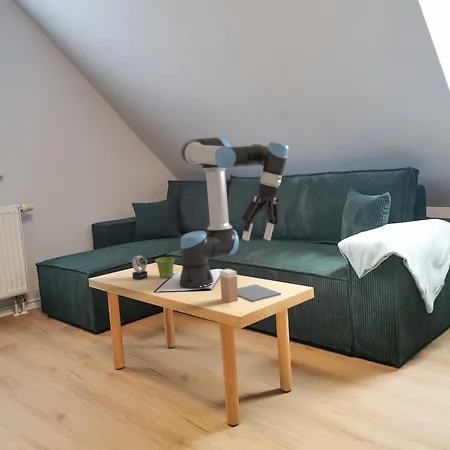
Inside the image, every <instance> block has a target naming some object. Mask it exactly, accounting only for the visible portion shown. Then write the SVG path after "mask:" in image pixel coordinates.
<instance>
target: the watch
mask: <svg viewBox="0 0 450 450" xmlns="http://www.w3.org/2000/svg"><path fill="white" fill-rule="evenodd" d="M147 264H148V259H146V258H145V257H144V256H143V255H136V256H133V258H132V267H133V270H134V272H131V273H132V280H136V281H140V280H144V279H147V278H148V271H146V269H147V266H148V265H147ZM139 268H140V269H139Z"/></svg>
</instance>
